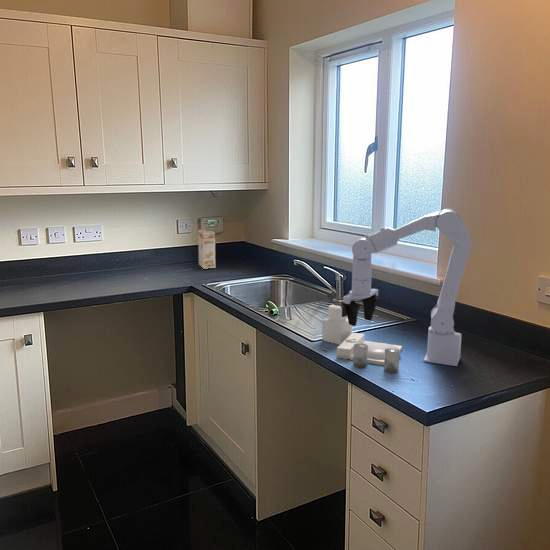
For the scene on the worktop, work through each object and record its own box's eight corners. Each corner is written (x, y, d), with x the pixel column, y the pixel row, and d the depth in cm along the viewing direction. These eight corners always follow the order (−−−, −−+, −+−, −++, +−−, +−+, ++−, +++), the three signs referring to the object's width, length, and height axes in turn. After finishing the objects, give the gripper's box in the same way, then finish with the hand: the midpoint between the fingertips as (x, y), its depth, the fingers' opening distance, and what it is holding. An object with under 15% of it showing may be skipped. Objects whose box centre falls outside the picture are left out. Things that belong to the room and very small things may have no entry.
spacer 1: (368, 364, 162) (369, 344, 161) (365, 369, 159) (365, 348, 157) (355, 362, 164) (356, 342, 162) (351, 366, 160) (352, 346, 159)
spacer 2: (399, 369, 158) (400, 349, 157) (396, 374, 155) (397, 353, 154) (385, 367, 160) (386, 347, 159) (382, 371, 157) (383, 351, 155)
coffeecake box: (216, 269, 294) (215, 232, 290) (202, 270, 292) (201, 233, 288) (211, 264, 308) (210, 229, 304) (198, 264, 306) (197, 229, 302)
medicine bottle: (333, 335, 188) (334, 300, 185) (352, 339, 183) (353, 304, 181) (321, 340, 182) (322, 305, 180) (340, 345, 178) (341, 309, 175)
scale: (405, 349, 174) (405, 338, 174) (393, 366, 160) (394, 355, 159) (352, 341, 181) (352, 331, 181) (336, 357, 167) (337, 346, 166)
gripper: (365, 273, 175) (364, 315, 178) (335, 280, 165) (334, 324, 168) (384, 276, 170) (382, 319, 173) (354, 284, 160) (353, 329, 163)
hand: (360, 322), depth 170 cm, fingers open, 7 cm apart
